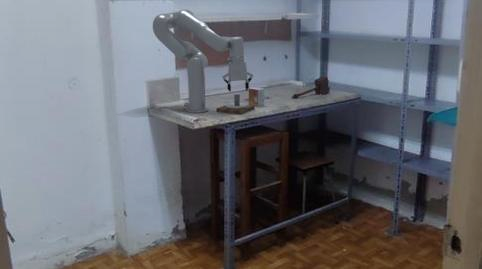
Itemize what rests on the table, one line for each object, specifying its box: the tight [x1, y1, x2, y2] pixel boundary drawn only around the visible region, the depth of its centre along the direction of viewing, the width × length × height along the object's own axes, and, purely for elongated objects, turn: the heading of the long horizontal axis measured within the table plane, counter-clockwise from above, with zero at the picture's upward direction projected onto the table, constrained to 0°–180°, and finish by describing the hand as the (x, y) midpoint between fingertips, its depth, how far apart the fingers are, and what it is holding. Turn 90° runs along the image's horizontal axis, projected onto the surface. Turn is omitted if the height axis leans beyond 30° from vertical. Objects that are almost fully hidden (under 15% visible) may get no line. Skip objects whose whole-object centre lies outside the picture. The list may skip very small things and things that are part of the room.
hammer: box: [291, 76, 331, 99], centre depth 328 cm, size 7×33×10 cm, turn 130°
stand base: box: [216, 104, 256, 115], centre depth 284 cm, size 16×16×2 cm
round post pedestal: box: [224, 94, 247, 109], centre depth 282 cm, size 12×12×8 cm
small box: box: [248, 87, 265, 108], centre depth 296 cm, size 8×6×10 cm
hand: (238, 90), depth 277 cm, fingers open, 9 cm apart
